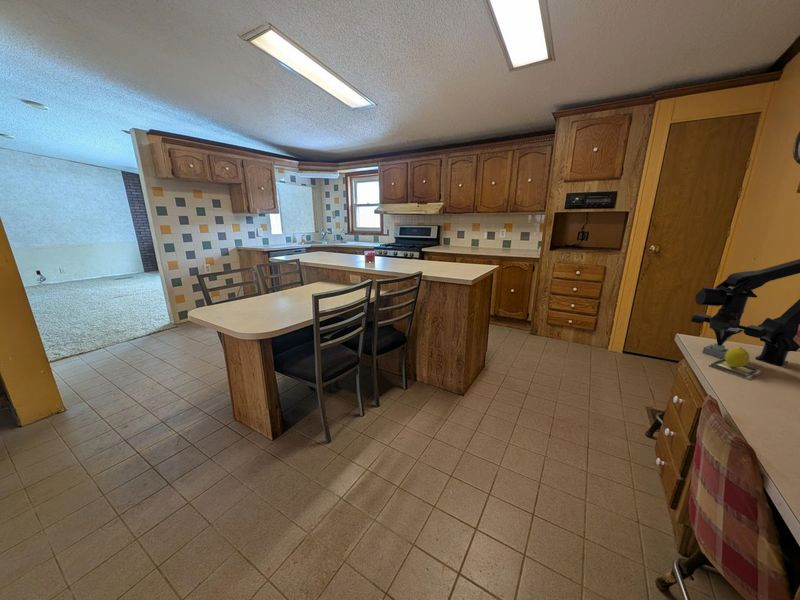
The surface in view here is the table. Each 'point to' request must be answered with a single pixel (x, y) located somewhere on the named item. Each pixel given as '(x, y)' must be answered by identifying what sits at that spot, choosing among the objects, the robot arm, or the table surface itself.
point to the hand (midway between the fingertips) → (719, 345)
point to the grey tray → (736, 369)
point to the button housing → (714, 352)
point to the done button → (718, 347)
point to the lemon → (737, 357)
